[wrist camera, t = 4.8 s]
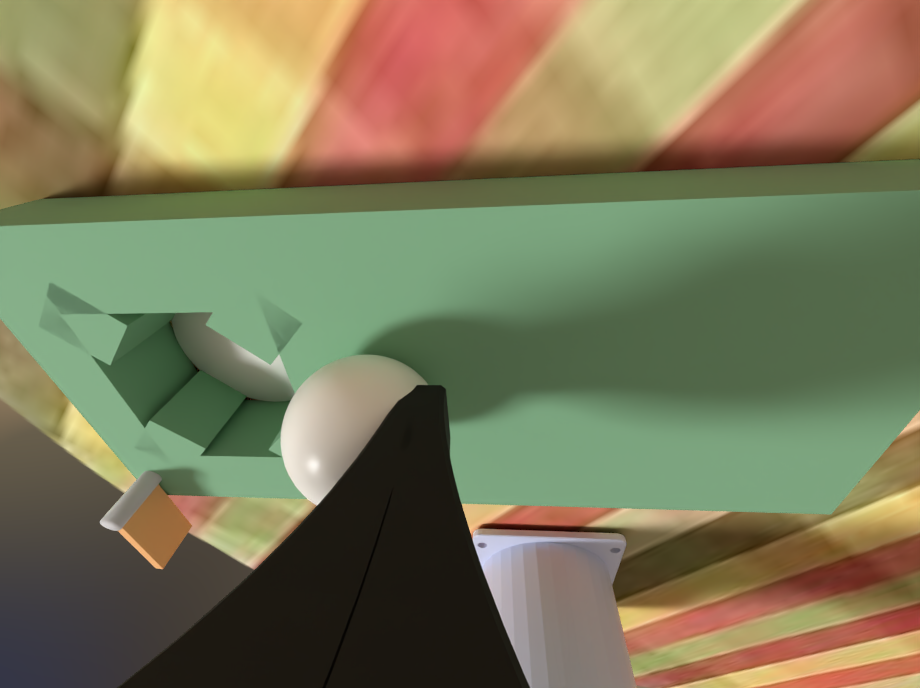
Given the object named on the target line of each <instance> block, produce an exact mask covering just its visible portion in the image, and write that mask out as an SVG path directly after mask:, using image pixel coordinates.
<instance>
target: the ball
mask: <svg viewBox="0 0 920 688" xmlns="http://www.w3.org/2000/svg"><path fill="white" fill-rule="evenodd" d="M416 385H428V384H427V382H426V381H425V380H424V379H423V378H422V377H421V376H420V375H419V374H418V373H417V372H416V371H414V370H413V369H412V368H410V367H408V366H407V365H405V364H403V363H401V362H400V361H397V360H394V359H392V358H388V357H385V356H379V355H354V356H349V357H345V358H341V359H338V360H336V361H333V362H331V363H329V364H327V365H325V366H323V367H322V368H320V369H319V370H317V371H316V372H315V373H313V374H312V375H311V376H310V377H309V378H308V379H307V380H305V381H304V382H303V384H302V385H301V386H300V387H299V388H298V390H297V391H296V393H295V394H294V396H293V397H292V399H291V401H290V403H289V405H288V407H287V410H286V412H285V415H284V419H283V423H282V428H281V452H282V457H283V461H284V465H285V468H286V470H287V472H288V475H289V476H290V478H291V480H292V481H293V483H294V485H295V486H296V488H297V489H298V490H299V491H300V492H301V493H302V494H303V495H304V496H305V497H306V498H307V499H308V500H310V501H311V502H312V503H314V504H315V505H318V504H319V503H320V502H321V501H322V499H323V498H324V497H325V496H326V495H327V494H328V493H329V491H330V490H331V489H332V488H333V487H334V485H335V484H336V483H337V482H338V480H339V479H340V478H341V477H342V475H343V474H344V473H345V472H346V470H347V469H348V468H349V467H350V465H351V464H352V463H353V462H354V460H355V459H356V458H357V457H358V455H359V454H360V453H361V451H362V450H363V448H364V447H365V446H366V444H367V443H368V441H369V440H370V439H371V437H372V436H373V435H374V433H375V432H376V430H377V429H378V428H379V426H380V425H381V423H382V422H383V420H384V419H385V417H386V416H387V414H388V413H389V412H390V410H391V409H392V408H393V407H394V405H395V404H396V403H397V402H398V400H400V399H401V398H403V397H404V396H406V395H407V394H408V393H410V392H411V391H412V390H413V389H414V388H415V387H416Z"/></svg>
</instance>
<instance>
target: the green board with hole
mask: <svg viewBox="0 0 920 688" xmlns="http://www.w3.org/2000/svg"><path fill="white" fill-rule="evenodd" d="M0 319H1V320H2V321H3V322H4V324H5V325H6V326H7V327H8V328H9V329H10V331H11V332H12V333H13V334H14V335H15V336H16V338H17V339H18V340H19V341H20V342H21V344H22V345H23V346H24V347H25V348H26V349H27V351H28V352H29V353H30V354H31V355H32V357H33V358H34V359H35V360H36V361H37V362H38V364H39V365H40V366H41V367H42V368H43V370H44V371H45V372H46V373H47V374H48V375H49V377H50V378H51V379H52V380H53V381H54V383H55V384H56V385H57V386H58V387H59V388H60V390H61V391H62V392H63V393H64V394H65V396H66V397H67V398H68V399H69V400H70V401H71V403H72V404H73V405H74V406H75V407H76V408H77V410H78V411H79V412H80V413H81V414H82V416H83V417H84V418H85V419H86V420H87V421H88V423H89V424H90V425H91V426H92V427H93V429H94V430H95V431H96V432H97V433H98V434H99V436H100V437H101V438H102V439H103V440H104V442H105V443H106V444H107V445H108V446H109V447H110V449H111V450H112V451H113V452H114V453H115V455H116V456H117V457H118V458H119V459H120V460H121V462H122V463H123V464H124V465H125V466H126V467H127V469H128V470H129V471H130V472H131V473H132V475H133V476H134V477H135V478H136V479H137V480H136V481H135V482H134V483H133V485H132V486H131V487H130V488H129V489H128V490H127V491H126V492H125V493H124V495H123V496H122V497H121V498H120V499H119V500H118V501H117V502H116V504H115V505H114V506H113V507H112V508H111V509H110V510H109V511H108V512H107V514H106V515H105V516H104V517H103V518H102V519H101V520H100V524H101V525H102V526H104V527H106V528H108V529H111V530H115V531H119V532H120V533H121V534H122V535H123V536H124V537H125V538H126V539H127V540H128V541H129V542H130V543H131V544H132V545H133V546H134V547H135V548H136V549H137V550H138V551H139V552H140V553H141V554H142V555H143V556H144V557H145V558H146V559H147V560H148V561H149V562H150V563H151V564H152V565H153V566H154V567H155V568H156V569H163V568H164V567H165V565H166V564H167V562H168V561H169V559H170V558H171V556H172V555H173V553H174V552H175V550H176V549H177V547H178V546H179V545H180V543H181V542H182V540H183V539H184V537H185V536H186V534H187V533H188V531H189V530H190V528H191V527H192V525H191V524H190V523H189V521H188V520H187V519H186V518H185V516H184V515H183V514H182V513H181V511H180V510H179V509H178V508H177V507H176V505H175V504H174V503H173V502H172V500H171V499H170V498H169V497H168V495H187V496H221V497H255V498H289V499H307V498H306V497H305V496H304V495H303V494H302V493H301V492H300V491H299V490H298V489H297V488H296V486H295V485H294V483H293V481H292V480H291V478H290V476H289V475H288V472H287V470H286V468H285V465H284V461H283V457H282V452H281V428H282V423H283V419H284V415H285V412H286V410H287V407H288V405H289V403H290V401H291V399H292V397H293V396H294V394H295V393H296V391H297V390H298V388H299V387H300V386H301V385H302V384H303V382H304V381H305V380H307V379H308V378H309V377H310V376H311V375H312V374H313V373H315V372H316V371H317V370H319V369H320V368H322V367H323V366H325V365H327V364H329V363H331V362H333V361H336V360H338V359H341V358H345V357H349V356H354V355H379V356H385V357H388V358H392V359H394V360H397V361H400V362H401V363H403V364H405V365H407V366H408V367H410V368H412V369H413V370H414V371H416V372H417V373H418V374H419V375H420V376H421V377H422V378H423V379H424V380H425V381H426V382H427V384H428V385H442V386H443V387H444V388H445V389H446V395H447V406H448V416H449V427H450V437H451V438H450V460H451V465H452V469H453V473H454V478H455V481H456V485H457V489H458V493H459V497H460V501H461V504H495V505H529V506H563V507H598V508H632V509H666V510H700V511H735V512H769V513H803V514H832V513H833V511H834V510H835V509H836V508H837V507H838V506H839V504H840V503H841V502H842V501H843V500H844V498H845V497H846V496H847V495H848V494H849V493H850V491H851V490H852V489H853V488H854V487H855V486H856V484H857V483H858V482H859V481H860V480H861V478H862V477H863V476H864V475H865V474H866V473H867V471H868V470H869V469H870V468H871V467H872V466H873V464H874V463H875V462H876V461H877V460H878V458H879V457H880V456H881V455H882V454H883V453H884V451H885V450H886V449H887V448H888V447H889V446H890V444H891V443H892V442H893V441H894V440H895V438H896V437H897V436H898V435H899V434H900V433H901V431H902V430H903V429H904V428H905V427H906V426H907V424H908V423H909V422H910V421H911V420H912V418H913V417H914V416H915V415H916V414H917V413H918V411H919V410H920V159H909V160H887V161H865V162H843V163H821V164H799V165H778V166H756V167H734V168H712V169H690V170H668V171H646V172H624V173H602V174H580V175H558V176H536V177H514V178H492V179H471V180H449V181H427V182H405V183H383V184H361V185H339V186H317V187H295V188H273V189H251V190H229V191H207V192H185V193H164V194H142V195H120V196H98V197H76V198H54V199H39V200H35V201H32V202H28V203H24V204H20V205H16V206H12V207H8V208H4V209H1V210H0ZM171 320H172V326H173V328H172V326H171V324H170V321H171ZM193 364H194V365H195V366H196V367H197V368H198V369H199V370H200V371H199V372H197V370H196V368H195V367H194V365H193ZM246 397H249V398H253V399H257V400H244V399H245V398H246Z"/></svg>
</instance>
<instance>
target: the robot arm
mask: <svg viewBox="0 0 920 688" xmlns="http://www.w3.org/2000/svg"><path fill="white" fill-rule="evenodd" d="M450 438H451V437H450V427H449V416H448V406H447V395H446V389H445V388H444V387H443V386H442V385H416V387H415V388H414V389H413V390H412V391H411V392H410V393H408V394H407V395H406V396H404V397H403V398H401V399H400V400H398V402H397V403H396V404H395V405H394V407H393V408H392V409H391V410H390V412H389V413H388V414H387V416H386V417H385V419H384V420H383V422H382V423H381V425H380V426H379V428H378V429H377V430H376V432H375V433H374V435H373V436H372V437H371V439H370V440H369V441H368V443H367V444H366V446H365V447H364V448H363V450H362V451H361V453H360V454H359V455H358V457H357V458H356V459H355V460H354V462H353V463H352V464H351V465H350V467H349V468H348V469H347V470H346V472H345V473H344V474H343V475H342V477H341V478H340V479H339V480H338V482H337V483H336V484H335V485H334V487H333V488H332V489H331V490H330V491H329V493H328V494H327V495H326V496H325V497H324V498H323V499H322V501H321V502H320V503H319V504H318V505H317V506H316V507H315V509H314V510H313V511H312V512H311V513H310V514H309V515H308V516H307V517H306V518H305V519H304V521H303V522H302V523H301V524H300V525H299V526H298V527H297V528H296V529H295V530H294V531H293V532H292V533H291V534H290V535H289V536H288V537H287V538H286V539H285V540H284V541H283V542H282V543H281V544H280V545H279V546H278V547H277V548H276V549H275V550H274V551H273V552H272V553H271V554H270V555H269V556H268V557H267V558H266V559H265V560H264V561H263V562H262V563H261V564H260V565H259V566H258V567H257V568H256V569H255V570H254V571H253V572H252V573H251V574H250V575H249V576H248V577H247V578H246V579H244V581H242V582H241V583H240V584H239V585H238V586H237V587H236V588H235V589H234V590H233V591H231V592H230V593H229V594H228V595H227V596H226V597H225V598H223V599H222V600H221V601H220V602H219V603H218V604H217V605H215V606H214V607H213V608H212V609H211V610H210V611H209V612H208V613H206V615H204V616H203V617H202V618H201V619H200V620H199V621H197V622H196V623H195V624H194V625H193V626H192V627H191V628H190V629H188V630H187V631H186V632H185V633H184V634H183V635H182V636H180V637H179V638H178V639H177V640H176V641H174V642H173V643H172V644H171V645H170V646H168V647H167V648H166V649H165V650H163V651H162V652H161V653H160V654H159V655H157V656H156V657H155V658H154V659H152V660H151V661H150V662H149V663H147V664H146V665H145V666H144V667H142V668H141V669H140V670H139V671H138V672H136V673H135V674H134V675H132V676H131V677H130V678H129V679H127V680H126V681H125V682H124V683H122V684H121V685H120V686H119V687H117V688H636V683H635V679H634V675H633V671H632V666H631V662H630V658H629V654H628V650H627V646H626V641H625V637H624V633H623V629H622V625H621V621H620V616H619V612H618V608H617V604H616V600H615V596H614V591H613V587H612V584H613V582H614V579H615V576H616V573H617V570H618V568H619V565H620V562H621V559H622V556H623V554H624V551H625V548H626V545H627V543H626V539H625V537H624V536H623V535H621V534H618V533H594V532H565V531H537V530H508V529H477V530H475V531H474V532H473V540H472V537H471V534H470V531H469V527H468V524H467V521H466V518H465V514H464V511H463V508H462V504H461V501H460V497H459V493H458V489H457V485H456V481H455V478H454V473H453V469H452V465H451V460H450Z"/></svg>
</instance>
